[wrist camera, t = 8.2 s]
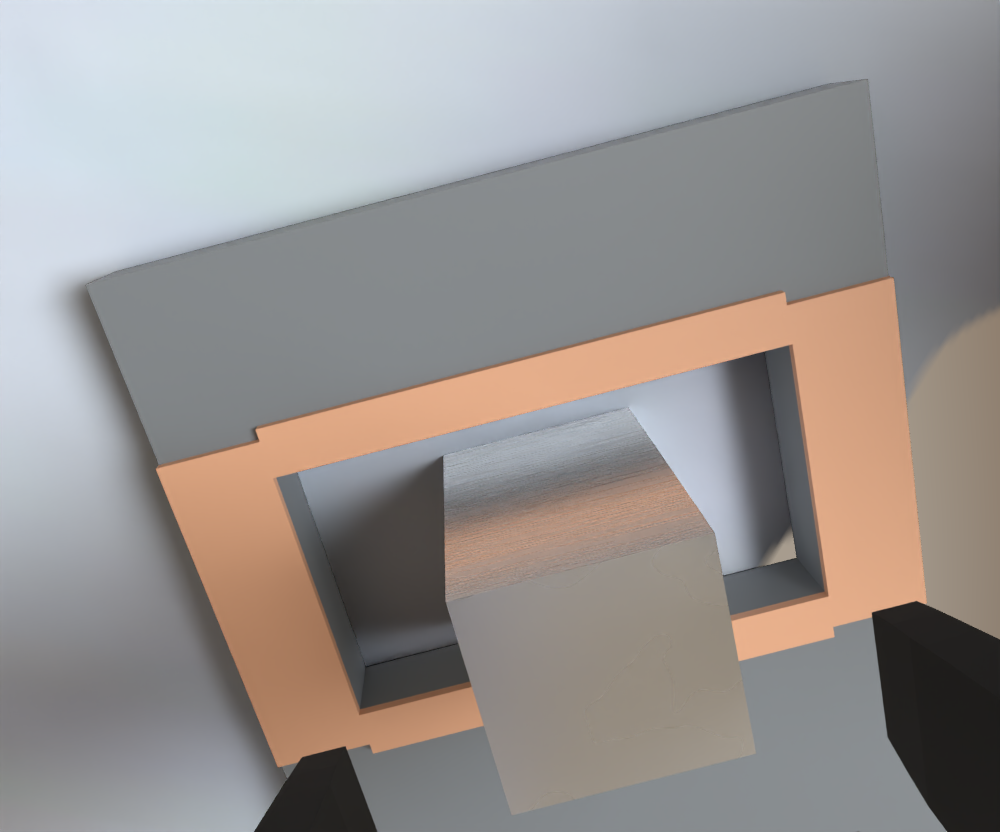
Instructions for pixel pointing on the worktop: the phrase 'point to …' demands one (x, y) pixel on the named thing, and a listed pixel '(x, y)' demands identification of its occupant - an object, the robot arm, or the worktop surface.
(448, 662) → the rail plate
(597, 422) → the block
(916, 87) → the worktop surface
